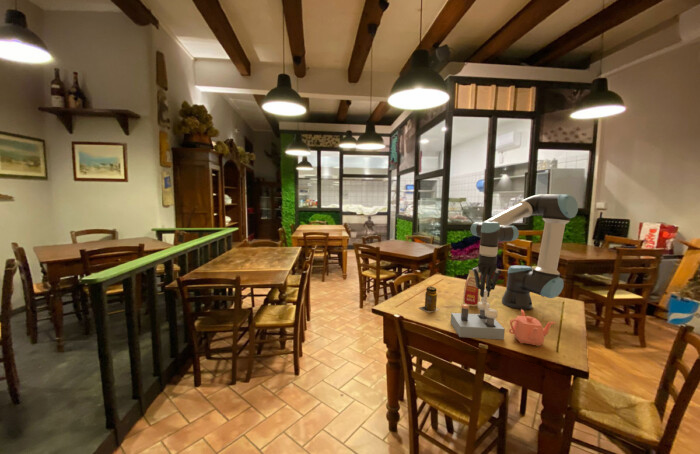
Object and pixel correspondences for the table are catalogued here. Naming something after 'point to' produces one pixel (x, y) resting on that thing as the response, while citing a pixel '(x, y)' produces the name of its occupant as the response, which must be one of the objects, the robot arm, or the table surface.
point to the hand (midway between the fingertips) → (483, 303)
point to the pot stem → (464, 312)
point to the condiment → (430, 300)
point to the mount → (476, 327)
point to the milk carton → (471, 290)
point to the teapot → (529, 329)
